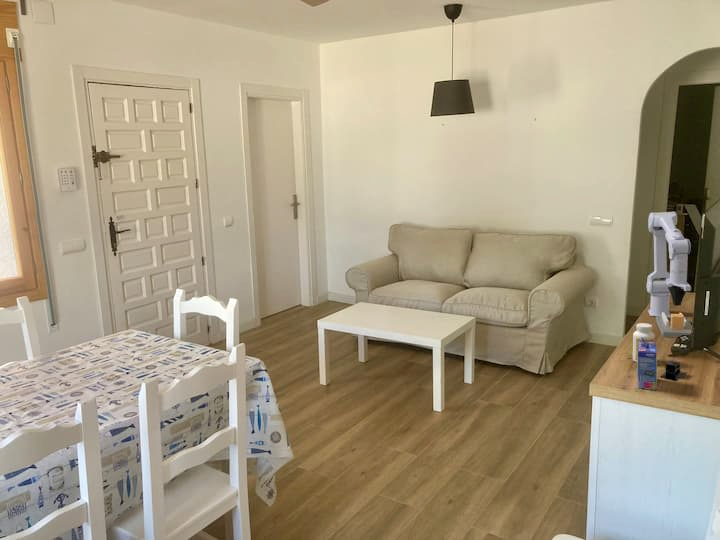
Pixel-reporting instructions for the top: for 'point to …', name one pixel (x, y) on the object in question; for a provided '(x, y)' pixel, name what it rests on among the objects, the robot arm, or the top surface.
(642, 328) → the supplement bottle
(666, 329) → the channel deck
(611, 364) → the top surface
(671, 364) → the black block
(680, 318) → the orange block
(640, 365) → the ink cartridge box
